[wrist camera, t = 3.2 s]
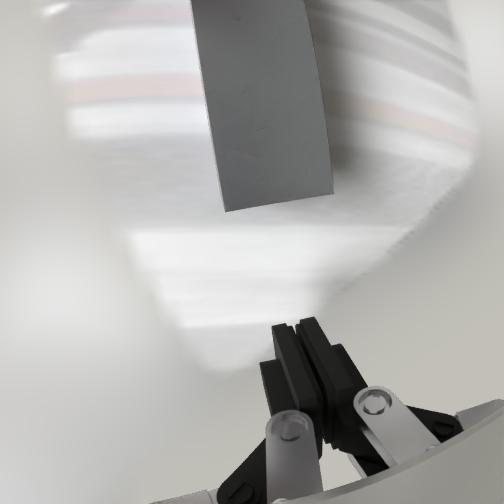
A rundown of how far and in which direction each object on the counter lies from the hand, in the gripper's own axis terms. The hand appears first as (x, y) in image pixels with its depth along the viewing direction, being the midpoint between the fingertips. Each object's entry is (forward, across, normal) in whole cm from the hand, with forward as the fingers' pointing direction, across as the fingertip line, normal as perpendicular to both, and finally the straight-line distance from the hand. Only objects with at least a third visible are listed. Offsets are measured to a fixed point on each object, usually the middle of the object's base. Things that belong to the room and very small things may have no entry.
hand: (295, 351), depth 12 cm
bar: (+4, 0, -13) cm, 13 cm away
